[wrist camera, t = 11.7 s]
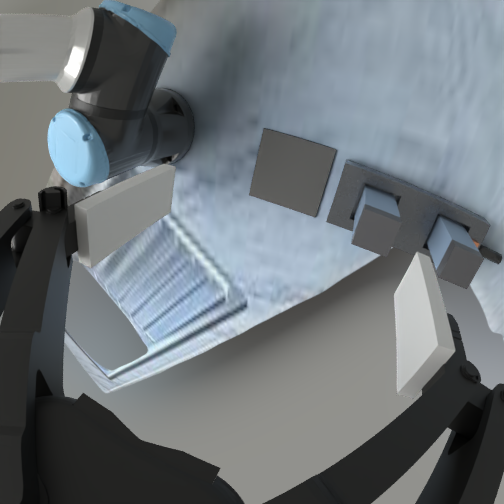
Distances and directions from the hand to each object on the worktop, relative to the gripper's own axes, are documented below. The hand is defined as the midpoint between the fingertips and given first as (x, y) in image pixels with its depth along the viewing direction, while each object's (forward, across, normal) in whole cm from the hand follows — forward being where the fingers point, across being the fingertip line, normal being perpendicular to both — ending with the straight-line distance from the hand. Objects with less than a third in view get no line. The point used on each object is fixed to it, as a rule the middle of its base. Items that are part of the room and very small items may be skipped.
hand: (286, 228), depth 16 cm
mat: (+36, -6, -8) cm, 37 cm away
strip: (+36, +18, -7) cm, 41 cm away
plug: (+35, +9, -8) cm, 37 cm away
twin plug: (+35, +22, -7) cm, 42 cm away
